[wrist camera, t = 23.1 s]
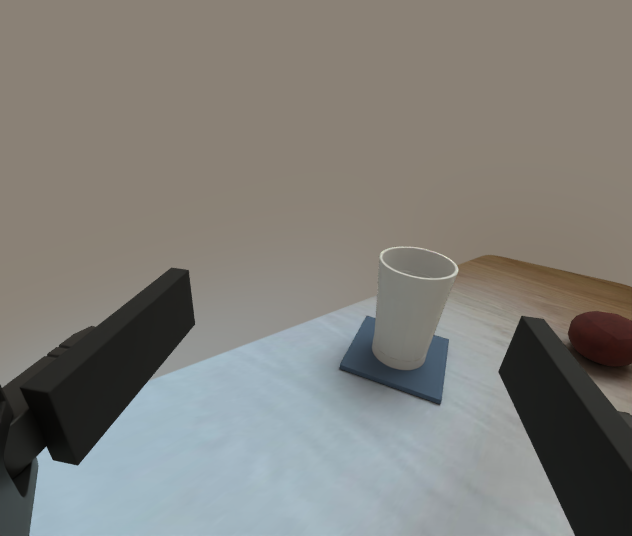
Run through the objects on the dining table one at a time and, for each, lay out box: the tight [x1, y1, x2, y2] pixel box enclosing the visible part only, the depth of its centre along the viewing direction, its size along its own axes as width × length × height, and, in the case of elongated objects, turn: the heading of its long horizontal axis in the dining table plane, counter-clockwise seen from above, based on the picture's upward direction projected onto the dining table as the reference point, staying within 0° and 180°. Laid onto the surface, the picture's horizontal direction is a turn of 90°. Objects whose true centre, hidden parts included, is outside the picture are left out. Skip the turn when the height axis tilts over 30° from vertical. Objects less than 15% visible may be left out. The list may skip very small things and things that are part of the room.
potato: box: [568, 311, 632, 367], centre depth 41 cm, size 7×8×6 cm
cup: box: [372, 247, 458, 370], centre depth 37 cm, size 8×8×12 cm
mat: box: [340, 316, 449, 404], centre depth 40 cm, size 11×11×1 cm
